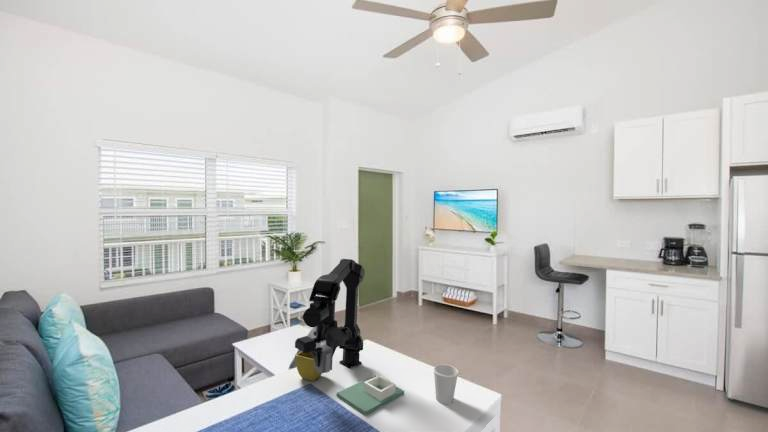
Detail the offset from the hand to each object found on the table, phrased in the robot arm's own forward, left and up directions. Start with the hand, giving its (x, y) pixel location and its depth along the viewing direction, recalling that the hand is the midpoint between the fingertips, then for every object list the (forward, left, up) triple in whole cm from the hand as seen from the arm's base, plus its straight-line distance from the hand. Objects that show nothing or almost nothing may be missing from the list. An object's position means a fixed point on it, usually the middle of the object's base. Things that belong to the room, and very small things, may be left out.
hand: (323, 364), depth 111 cm
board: (+9, +14, -11) cm, 20 cm away
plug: (0, 0, -2) cm, 2 cm away
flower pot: (-14, +6, -12) cm, 19 cm away
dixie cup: (+27, +31, -12) cm, 42 cm away
